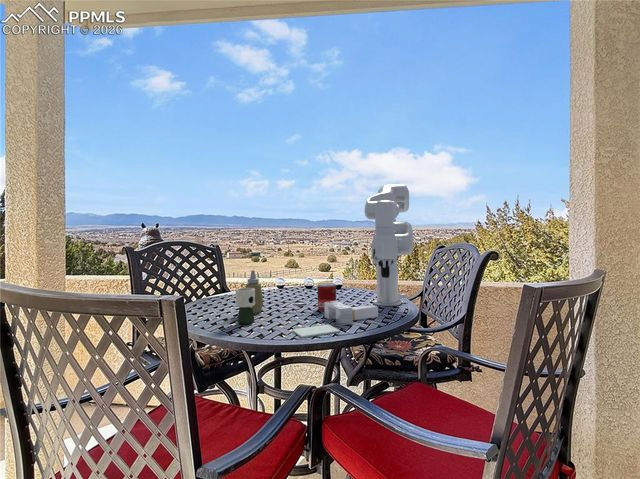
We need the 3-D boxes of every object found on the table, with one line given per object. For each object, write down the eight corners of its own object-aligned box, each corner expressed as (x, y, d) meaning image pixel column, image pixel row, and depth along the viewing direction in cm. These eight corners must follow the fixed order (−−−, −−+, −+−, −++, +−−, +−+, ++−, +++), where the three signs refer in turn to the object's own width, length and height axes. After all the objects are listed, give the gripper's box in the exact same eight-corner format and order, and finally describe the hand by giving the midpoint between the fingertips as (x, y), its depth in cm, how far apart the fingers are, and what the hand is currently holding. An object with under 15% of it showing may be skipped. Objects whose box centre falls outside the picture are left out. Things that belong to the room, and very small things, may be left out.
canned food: (336, 311, 164) (336, 285, 163) (317, 311, 164) (317, 285, 163) (336, 307, 171) (335, 282, 171) (318, 307, 172) (317, 282, 171)
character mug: (250, 327, 141) (249, 291, 140) (231, 326, 142) (230, 291, 141) (259, 319, 151) (258, 286, 151) (242, 319, 152) (241, 286, 152)
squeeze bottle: (265, 310, 168) (264, 269, 167) (261, 314, 159) (259, 271, 159) (247, 310, 168) (246, 269, 168) (241, 314, 160) (240, 271, 160)
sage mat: (328, 326, 140) (328, 324, 140) (340, 332, 132) (339, 330, 132) (292, 331, 134) (292, 329, 134) (301, 337, 126) (301, 336, 126)
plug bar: (372, 314, 156) (372, 304, 156) (378, 316, 152) (377, 306, 152) (346, 318, 151) (346, 308, 151) (351, 320, 148) (350, 310, 147)
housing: (336, 315, 155) (335, 300, 155) (352, 323, 142) (352, 307, 142) (324, 317, 153) (324, 302, 153) (340, 325, 140) (340, 308, 140)
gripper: (395, 231, 161) (395, 274, 162) (363, 232, 155) (364, 277, 156) (405, 231, 154) (406, 277, 155) (373, 232, 148) (374, 279, 149)
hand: (385, 277), depth 155 cm, fingers closed
